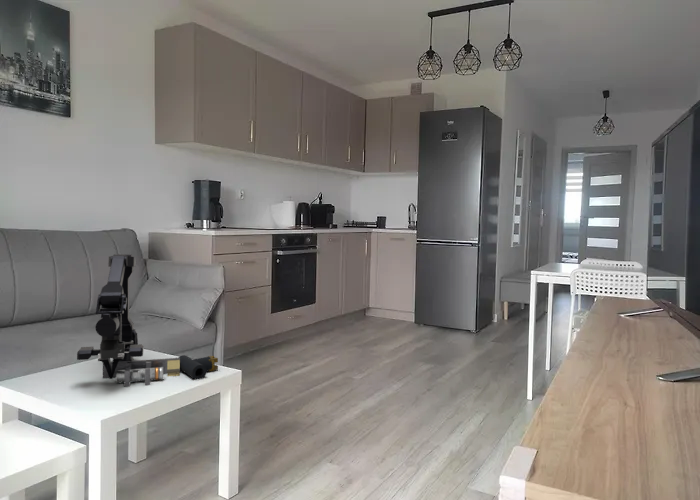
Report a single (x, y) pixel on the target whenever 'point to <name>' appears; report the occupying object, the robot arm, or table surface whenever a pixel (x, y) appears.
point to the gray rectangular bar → (169, 366)
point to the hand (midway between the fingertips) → (111, 378)
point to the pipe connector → (198, 366)
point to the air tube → (140, 374)
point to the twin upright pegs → (127, 374)
